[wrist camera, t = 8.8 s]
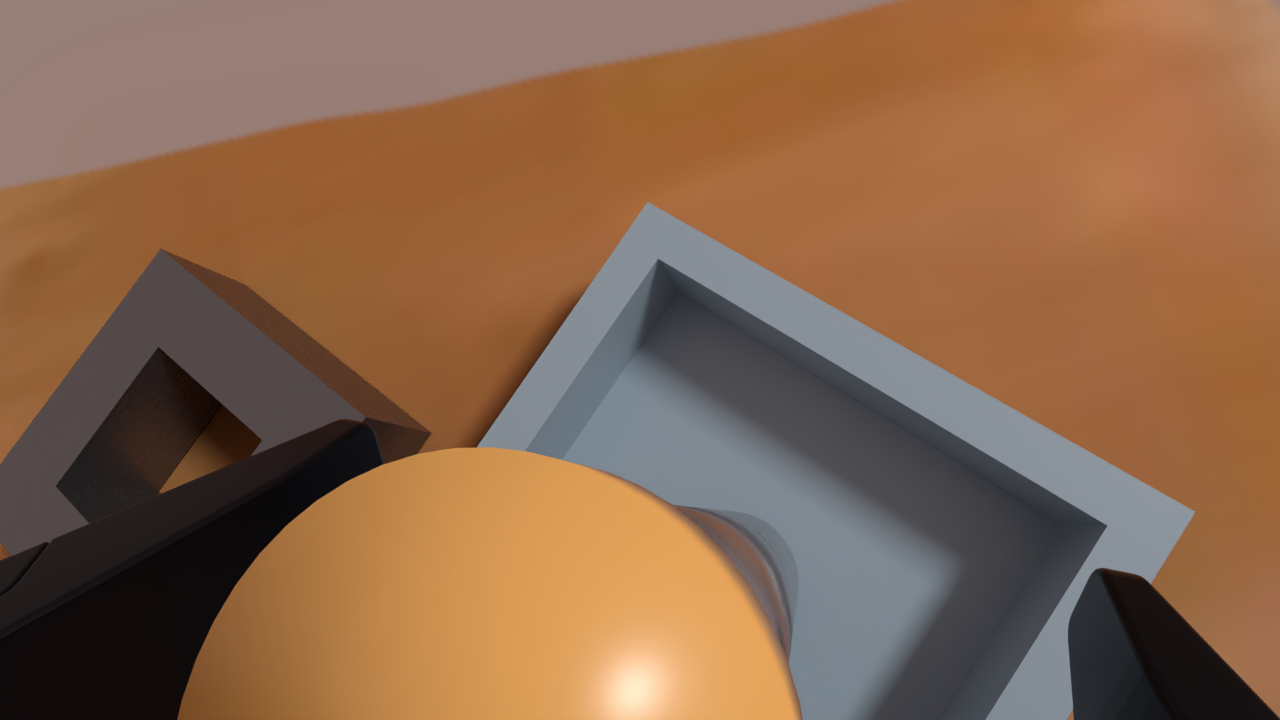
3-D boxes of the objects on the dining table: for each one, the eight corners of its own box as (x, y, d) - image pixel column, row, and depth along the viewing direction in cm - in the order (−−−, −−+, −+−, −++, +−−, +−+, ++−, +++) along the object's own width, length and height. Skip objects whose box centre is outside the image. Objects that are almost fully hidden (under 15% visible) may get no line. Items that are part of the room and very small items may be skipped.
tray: (814, 1003, 14) (816, 1121, 11) (412, 627, 18) (338, 645, 15) (1122, 514, 15) (1195, 511, 12) (672, 251, 19) (647, 202, 16)
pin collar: (249, 691, 19) (149, 721, 16) (81, 508, 21) (-31, 505, 19) (431, 433, 19) (365, 416, 16) (245, 284, 22) (160, 248, 19)
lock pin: (686, 676, 16) (209, 1299, 3) (640, 530, 17) (131, 562, 4) (831, 630, 15) (943, 1148, 3) (774, 482, 16) (662, 356, 4)
